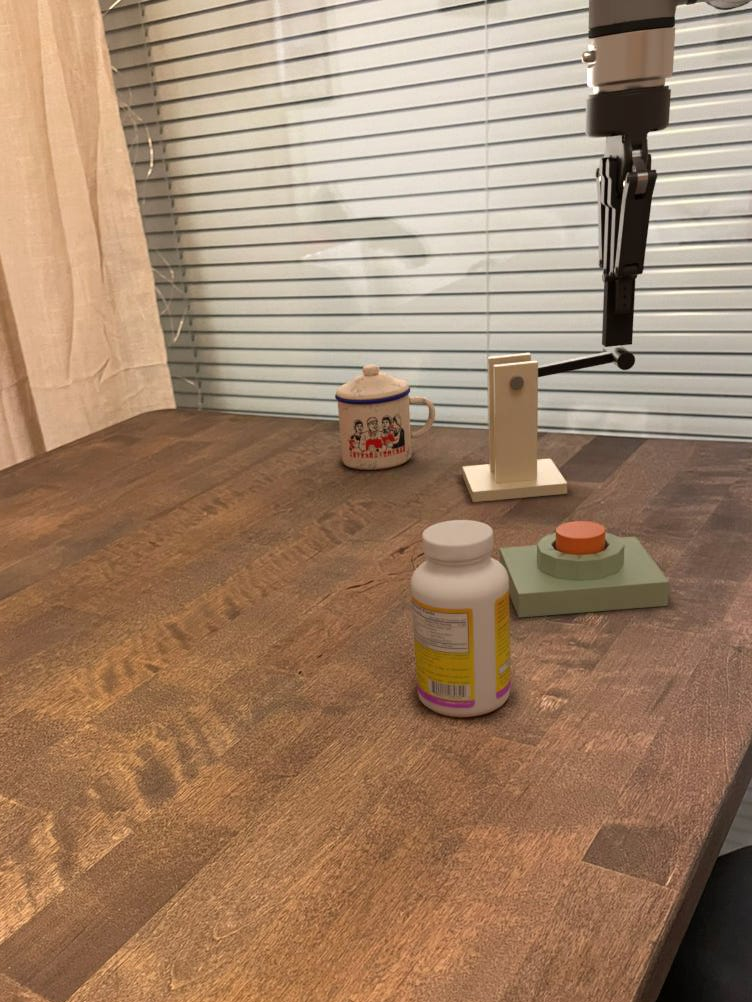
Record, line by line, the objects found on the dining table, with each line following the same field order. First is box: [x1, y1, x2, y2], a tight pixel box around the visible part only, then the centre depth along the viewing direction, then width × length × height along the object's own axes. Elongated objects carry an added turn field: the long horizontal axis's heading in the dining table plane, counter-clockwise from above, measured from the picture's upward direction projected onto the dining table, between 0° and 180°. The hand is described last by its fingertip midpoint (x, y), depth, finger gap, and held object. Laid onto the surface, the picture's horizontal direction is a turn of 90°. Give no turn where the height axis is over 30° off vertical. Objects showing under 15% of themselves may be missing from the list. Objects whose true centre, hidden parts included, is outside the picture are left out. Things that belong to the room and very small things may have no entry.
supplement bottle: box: [410, 519, 511, 718], centre depth 70 cm, size 7×7×13 cm
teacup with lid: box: [334, 364, 436, 471], centre depth 123 cm, size 12×9×12 cm
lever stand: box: [462, 352, 568, 503], centre depth 109 cm, size 10×9×14 cm
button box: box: [499, 531, 670, 619], centre depth 86 cm, size 12×10×4 cm
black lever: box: [514, 345, 636, 378], centre depth 106 cm, size 13×6×2 cm, turn 87°
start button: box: [555, 520, 607, 555], centre depth 85 cm, size 4×4×2 cm
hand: (616, 344), depth 104 cm, fingers closed
